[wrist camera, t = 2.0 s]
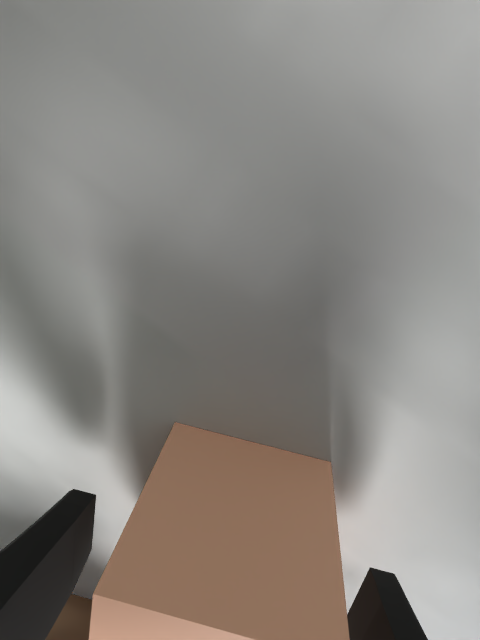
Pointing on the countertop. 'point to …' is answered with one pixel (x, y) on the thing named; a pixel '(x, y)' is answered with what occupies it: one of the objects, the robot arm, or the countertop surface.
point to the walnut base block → (73, 620)
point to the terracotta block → (226, 548)
